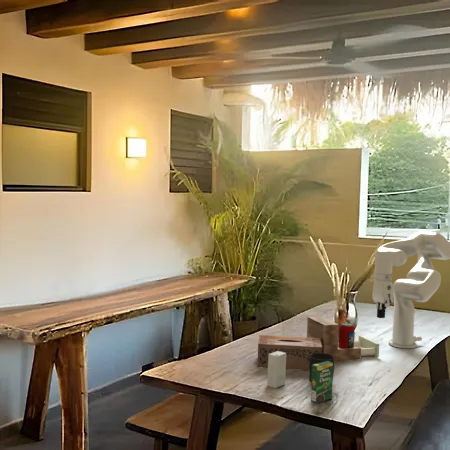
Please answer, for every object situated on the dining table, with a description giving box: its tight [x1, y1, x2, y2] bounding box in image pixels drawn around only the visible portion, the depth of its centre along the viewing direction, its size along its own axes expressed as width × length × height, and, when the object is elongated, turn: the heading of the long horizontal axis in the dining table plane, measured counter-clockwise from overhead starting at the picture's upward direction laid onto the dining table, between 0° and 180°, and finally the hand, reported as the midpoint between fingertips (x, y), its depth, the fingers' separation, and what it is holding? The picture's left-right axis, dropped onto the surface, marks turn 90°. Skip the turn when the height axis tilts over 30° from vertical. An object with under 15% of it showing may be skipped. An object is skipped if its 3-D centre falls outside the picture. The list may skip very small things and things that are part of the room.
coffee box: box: [310, 361, 334, 404], centre depth 200 cm, size 8×3×13 cm, turn 125°
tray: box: [338, 334, 380, 358], centre depth 258 cm, size 19×15×6 cm
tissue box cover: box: [257, 334, 322, 371], centre depth 241 cm, size 26×14×10 cm, turn 84°
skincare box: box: [266, 351, 287, 389], centre depth 215 cm, size 6×4×12 cm
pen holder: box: [308, 353, 335, 383], centre depth 219 cm, size 9×9×10 cm
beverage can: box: [338, 322, 356, 349], centre depth 257 cm, size 7×7×12 cm
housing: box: [306, 315, 362, 363], centre depth 255 cm, size 18×16×16 cm
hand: (380, 317), depth 262 cm, fingers closed
